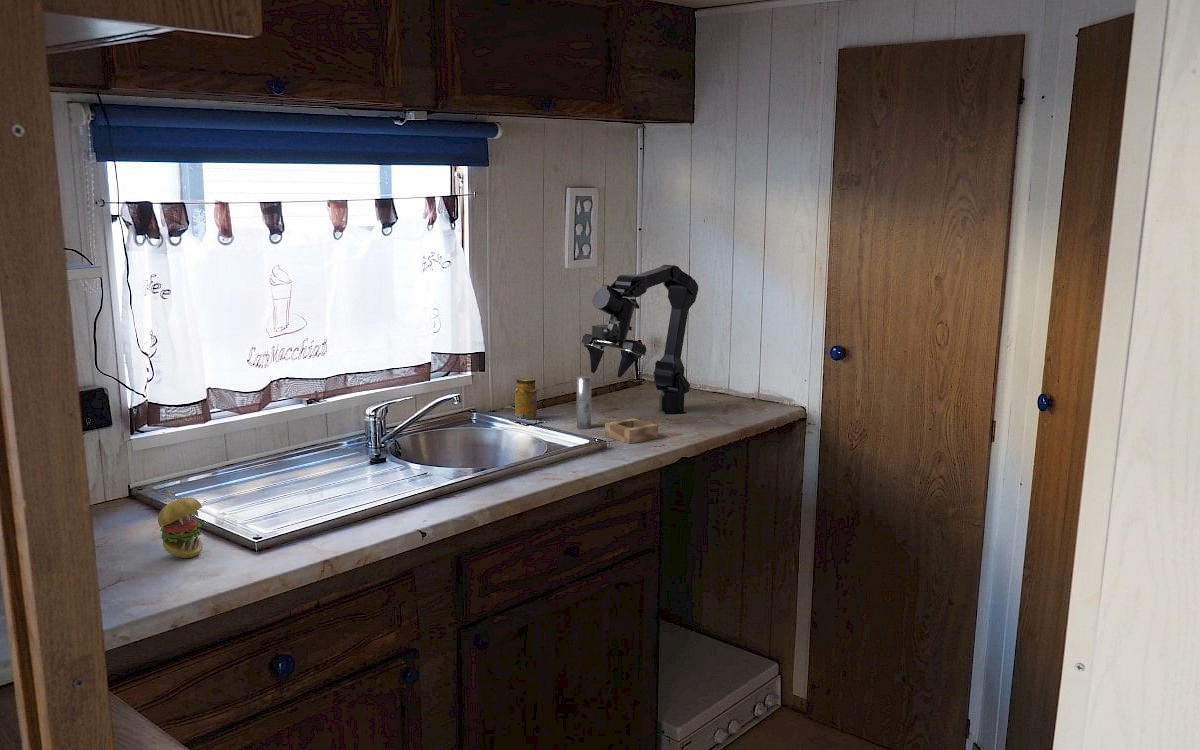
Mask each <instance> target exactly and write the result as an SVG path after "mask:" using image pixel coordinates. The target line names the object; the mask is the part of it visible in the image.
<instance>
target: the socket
mask: <svg viewBox="0 0 1200 750" xmlns="http://www.w3.org/2000/svg"><path fill="white" fill-rule="evenodd" d="M604 437H607V438H610V439H614V440H617V441H619V442H623V443H627V444H628V445H629V444H630V445H631V444H635V443H640V442H641V443H642V442H645V441H650V440H655V439H658V438H659V425H658V424H656V423H652V422H649V421H645V420H641V419H638V418H636V417H632V418H627V419H622V420H615V421H611V422H605V424H604Z"/></svg>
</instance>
